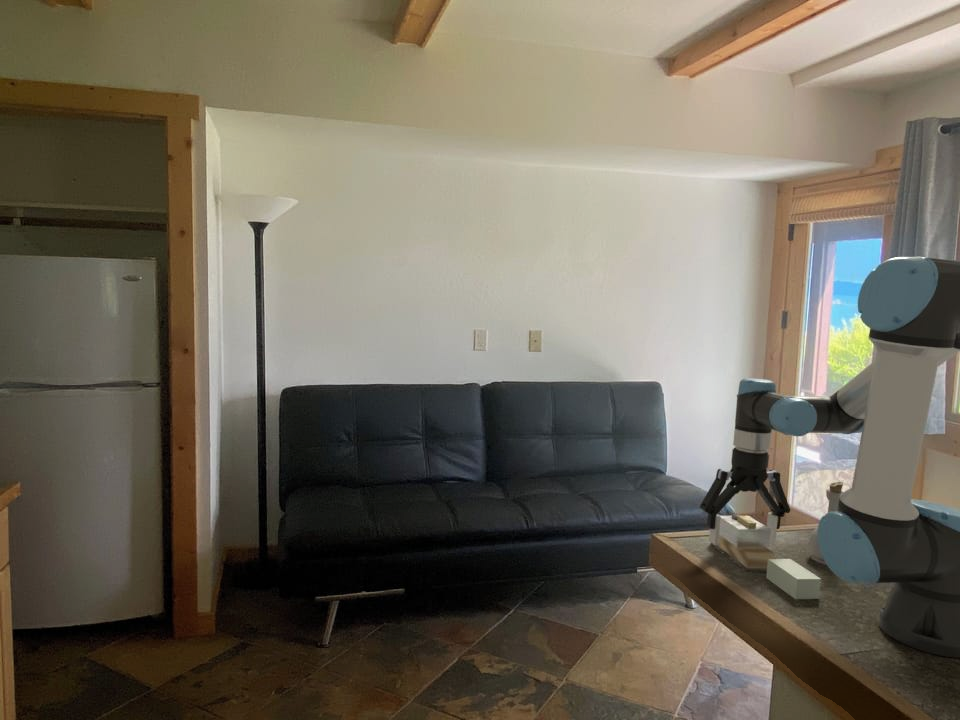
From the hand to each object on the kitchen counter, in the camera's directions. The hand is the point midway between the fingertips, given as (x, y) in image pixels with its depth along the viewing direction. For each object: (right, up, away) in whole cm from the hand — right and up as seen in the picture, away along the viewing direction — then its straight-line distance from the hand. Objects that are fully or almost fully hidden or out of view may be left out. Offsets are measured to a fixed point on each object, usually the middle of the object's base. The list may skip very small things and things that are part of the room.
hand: (741, 543), depth 153 cm
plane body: (0, -3, 0) cm, 3 cm away
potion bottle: (+20, -5, +1) cm, 20 cm away
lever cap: (0, +1, 0) cm, 1 cm away
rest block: (+4, -5, -15) cm, 16 cm away
